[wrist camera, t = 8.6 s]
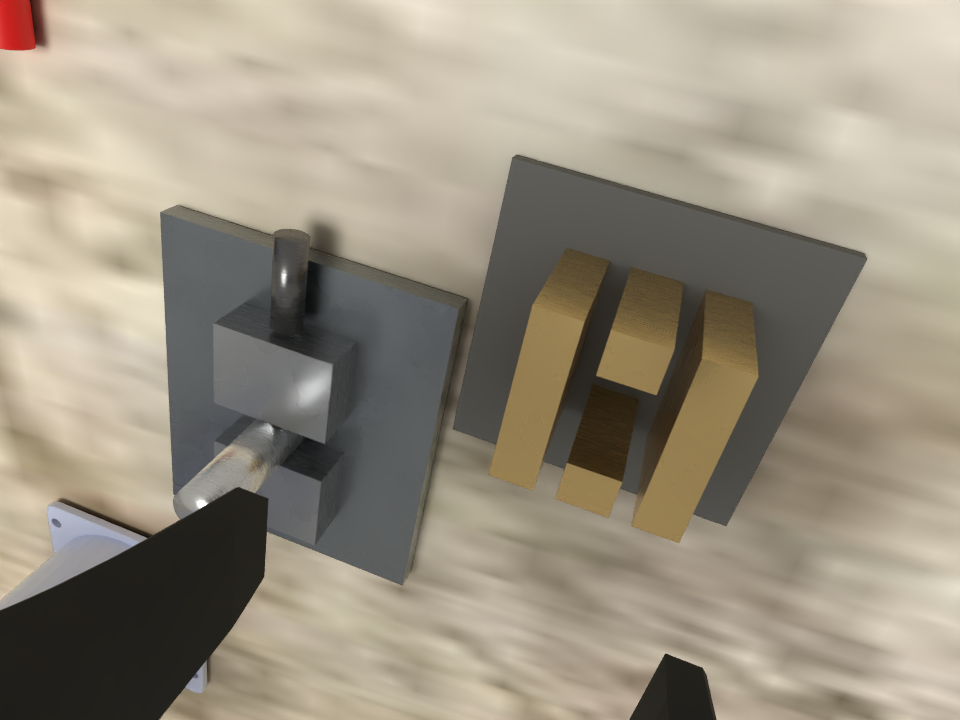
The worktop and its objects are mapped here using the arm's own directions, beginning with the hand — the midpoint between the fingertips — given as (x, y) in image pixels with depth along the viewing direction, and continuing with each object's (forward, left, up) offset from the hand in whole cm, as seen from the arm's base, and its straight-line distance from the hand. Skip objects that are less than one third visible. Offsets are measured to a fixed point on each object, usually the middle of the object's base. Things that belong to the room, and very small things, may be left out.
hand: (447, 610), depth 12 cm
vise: (-5, +8, -10) cm, 14 cm away
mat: (+1, -2, -10) cm, 10 cm away
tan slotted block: (+1, -2, -10) cm, 10 cm away
